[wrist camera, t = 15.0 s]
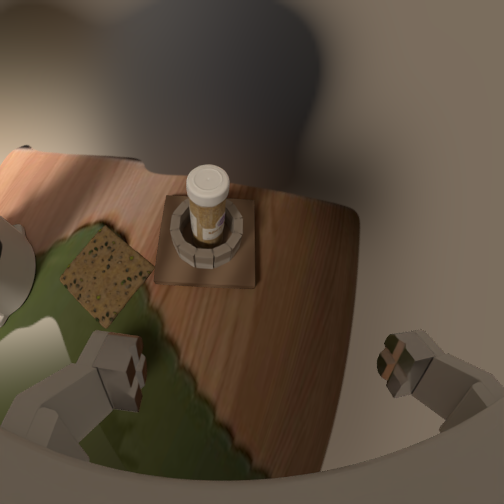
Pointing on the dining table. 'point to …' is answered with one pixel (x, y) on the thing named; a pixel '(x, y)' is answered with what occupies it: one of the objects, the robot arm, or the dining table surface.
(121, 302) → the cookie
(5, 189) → the dining table surface
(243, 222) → the collar stand
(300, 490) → the robot arm
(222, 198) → the sprinkles bottle
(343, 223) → the dining table surface
